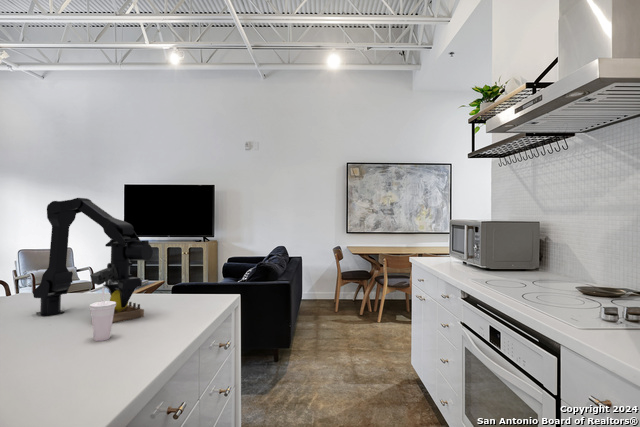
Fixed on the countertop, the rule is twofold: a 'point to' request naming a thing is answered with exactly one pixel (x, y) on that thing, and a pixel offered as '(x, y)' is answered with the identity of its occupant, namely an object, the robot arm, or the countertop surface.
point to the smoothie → (102, 318)
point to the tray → (128, 313)
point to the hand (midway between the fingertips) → (119, 306)
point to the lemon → (117, 300)
